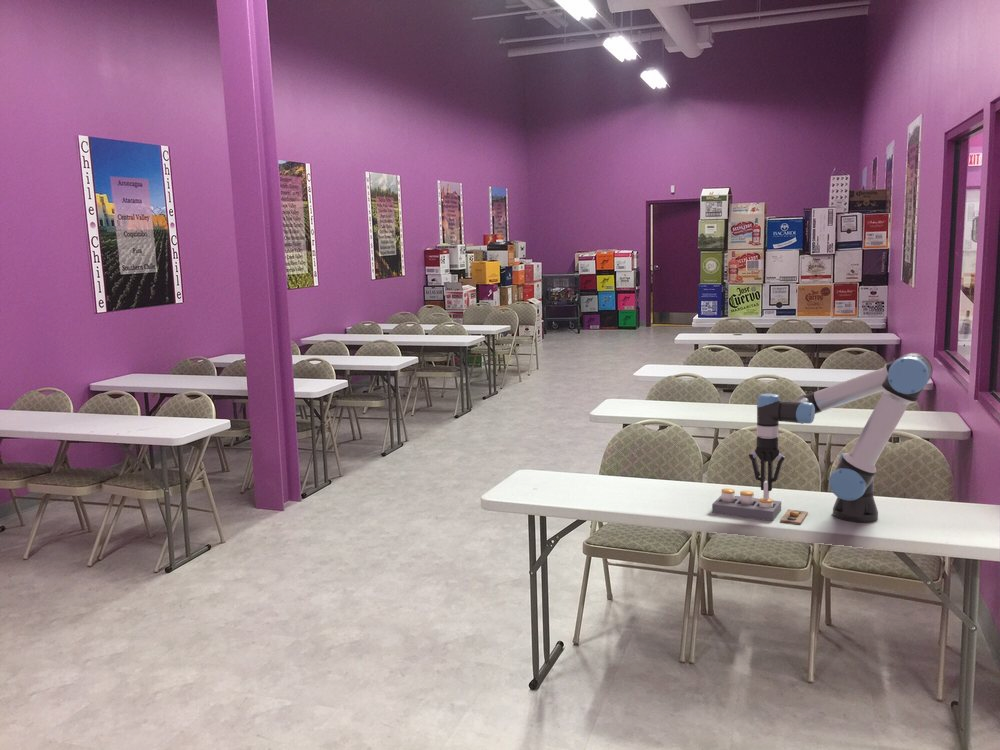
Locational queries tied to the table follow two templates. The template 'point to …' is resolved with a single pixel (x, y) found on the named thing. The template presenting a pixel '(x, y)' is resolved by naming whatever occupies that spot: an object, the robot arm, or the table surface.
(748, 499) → the button mid
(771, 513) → the button board
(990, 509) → the table surface
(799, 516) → the card
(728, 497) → the button
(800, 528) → the table surface
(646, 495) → the table surface
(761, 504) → the button
